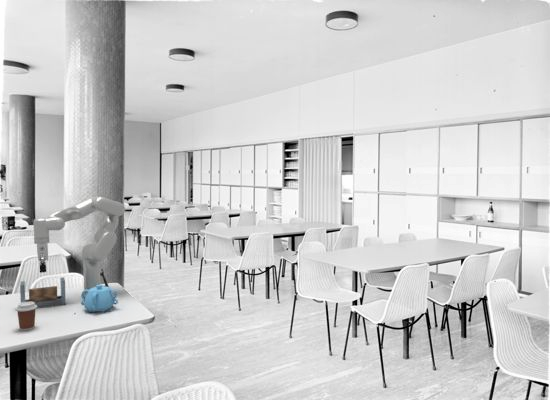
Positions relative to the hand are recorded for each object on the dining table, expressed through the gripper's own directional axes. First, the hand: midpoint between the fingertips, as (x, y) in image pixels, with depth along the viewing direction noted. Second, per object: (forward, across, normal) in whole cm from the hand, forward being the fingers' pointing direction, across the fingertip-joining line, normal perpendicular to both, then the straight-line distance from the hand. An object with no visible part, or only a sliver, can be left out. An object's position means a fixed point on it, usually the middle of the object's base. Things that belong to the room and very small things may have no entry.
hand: (42, 270), depth 250 cm
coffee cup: (+20, -37, +8) cm, 43 cm away
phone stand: (+20, +27, -33) cm, 47 cm away
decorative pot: (+20, -22, -27) cm, 40 cm away
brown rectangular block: (+19, 0, 0) cm, 19 cm away
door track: (+20, 0, 0) cm, 20 cm away
